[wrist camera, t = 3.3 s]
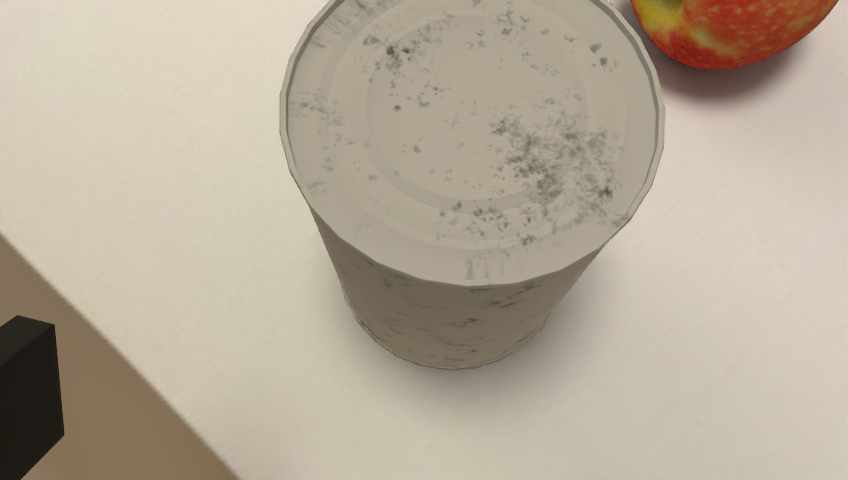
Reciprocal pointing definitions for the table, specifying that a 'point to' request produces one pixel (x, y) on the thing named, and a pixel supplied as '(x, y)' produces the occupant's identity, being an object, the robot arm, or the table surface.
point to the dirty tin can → (468, 160)
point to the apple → (728, 28)
